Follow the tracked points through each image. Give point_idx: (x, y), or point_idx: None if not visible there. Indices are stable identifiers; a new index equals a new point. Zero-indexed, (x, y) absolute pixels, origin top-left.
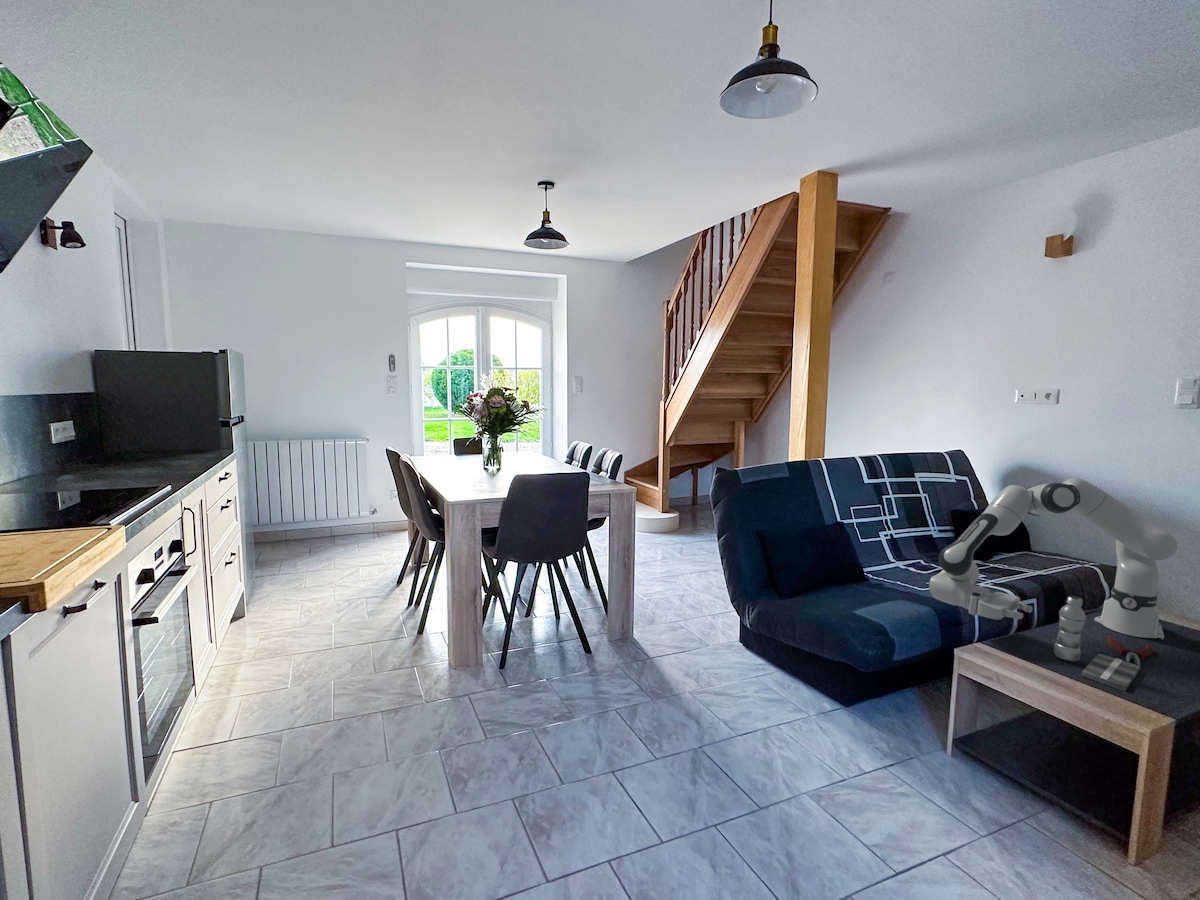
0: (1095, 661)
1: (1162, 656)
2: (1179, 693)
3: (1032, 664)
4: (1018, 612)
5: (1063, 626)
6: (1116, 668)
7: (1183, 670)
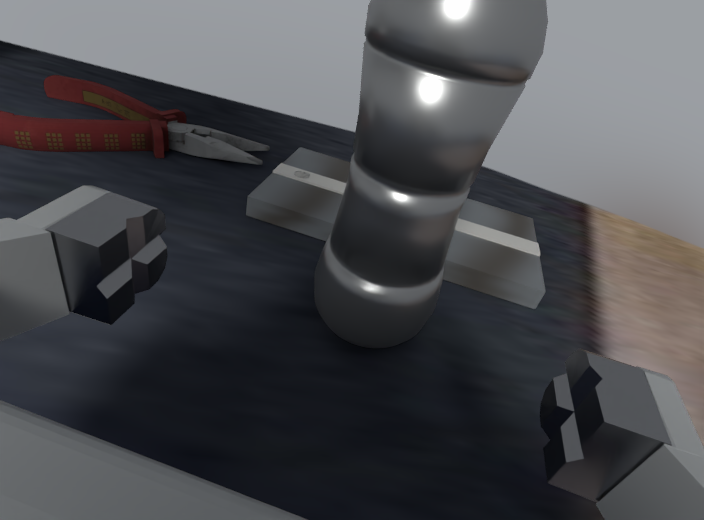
0: None
1: None
2: None
3: None
4: (632, 403)
5: (481, 158)
6: None
7: (214, 101)
